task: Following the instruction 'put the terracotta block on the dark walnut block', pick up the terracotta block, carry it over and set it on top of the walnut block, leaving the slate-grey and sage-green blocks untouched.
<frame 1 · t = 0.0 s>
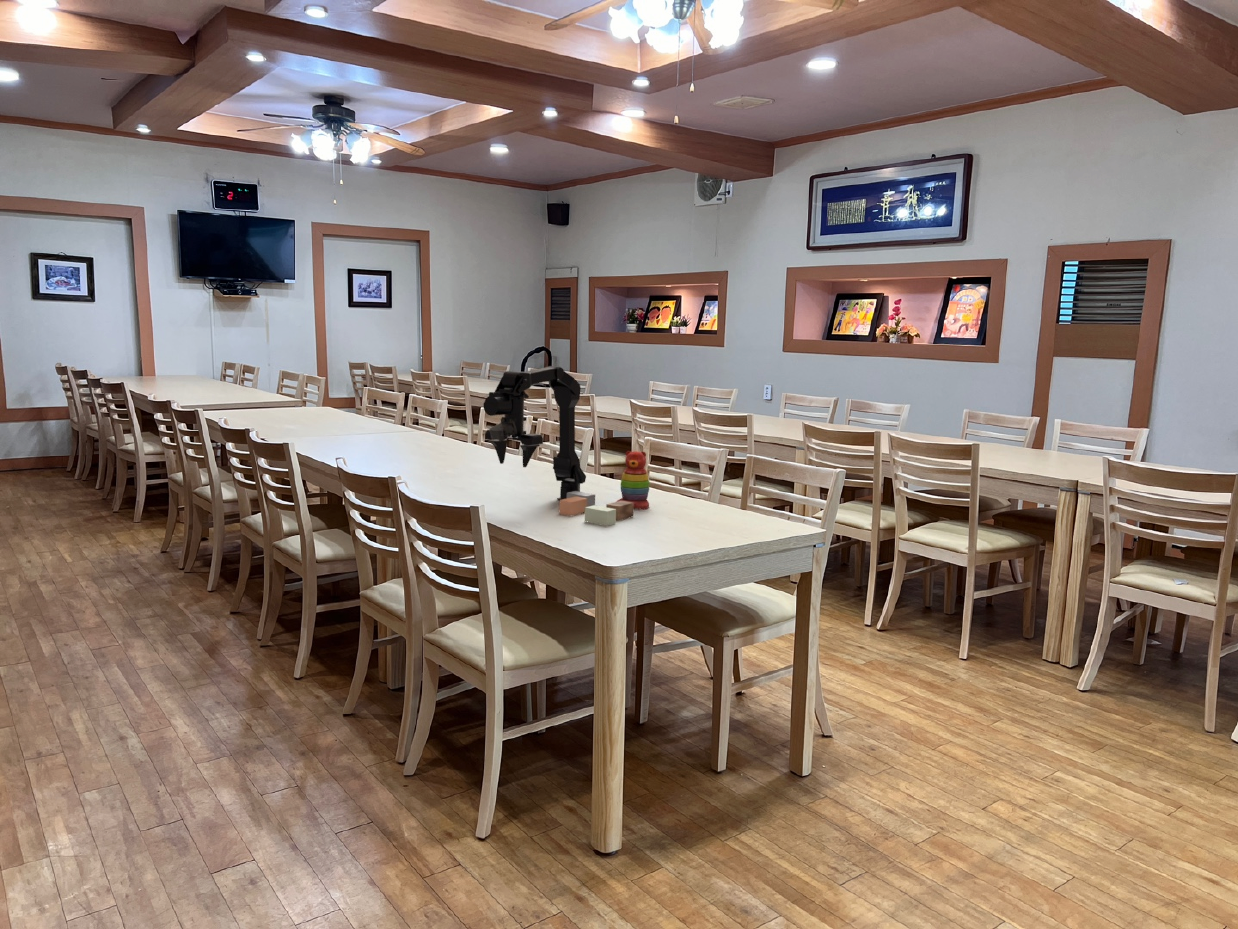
hand: (513, 465, 263), 15 cm above the table, tool pointing down, fingers open, 9 cm apart
slate block: (580, 507, 279), on the table
sage block: (600, 523, 257), on the table
walnut block: (619, 518, 265), on the table
terracotta block: (573, 513, 269), on the table
stacking bear: (633, 506, 284), on the table
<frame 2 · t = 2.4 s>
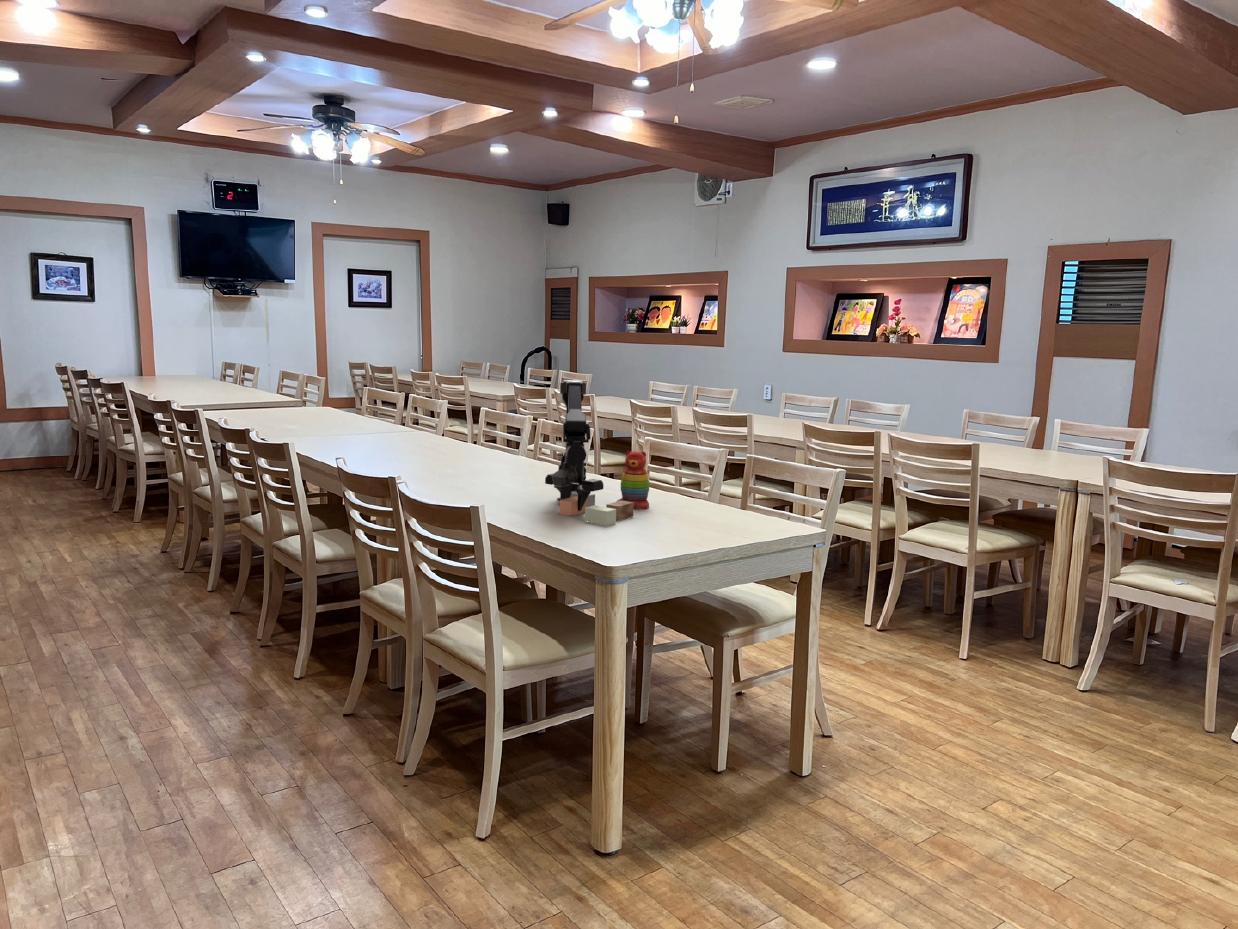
hand: (573, 509, 269), 1 cm above the table, tool pointing down, fingers closed on terracotta block, 4 cm apart
terracotta block: (573, 513, 269), on the table, touching gripper
everything else where it was.
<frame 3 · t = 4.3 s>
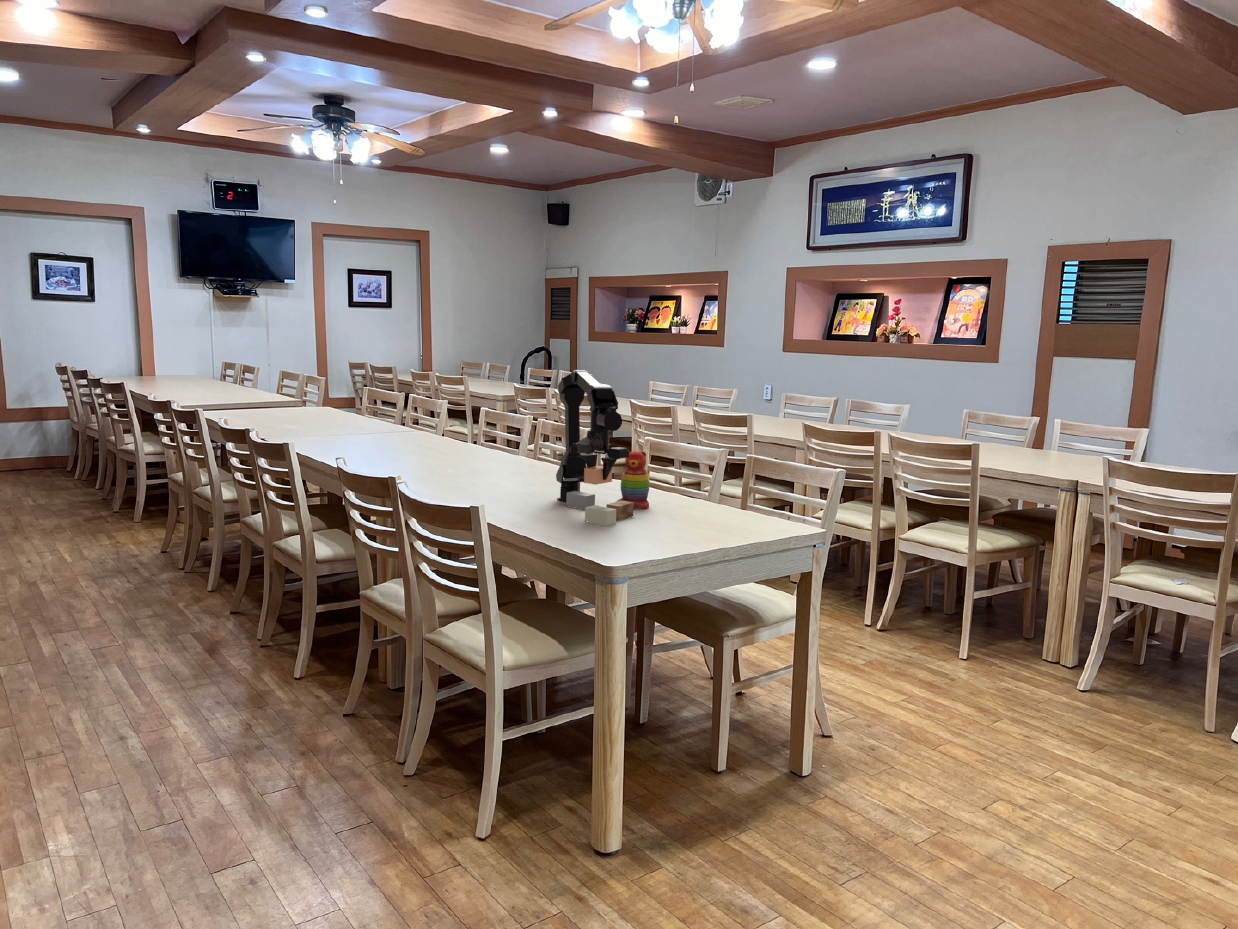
hand: (598, 478, 265), 11 cm above the table, tool pointing down, fingers closed on terracotta block, 4 cm apart
terracotta block: (598, 482, 265), point 10 cm above the table, touching gripper
everything else where it was.
when the fingers open (6 cm above the table, at t = 5.9 s): terracotta block drops 1 cm, resting on walnut block.
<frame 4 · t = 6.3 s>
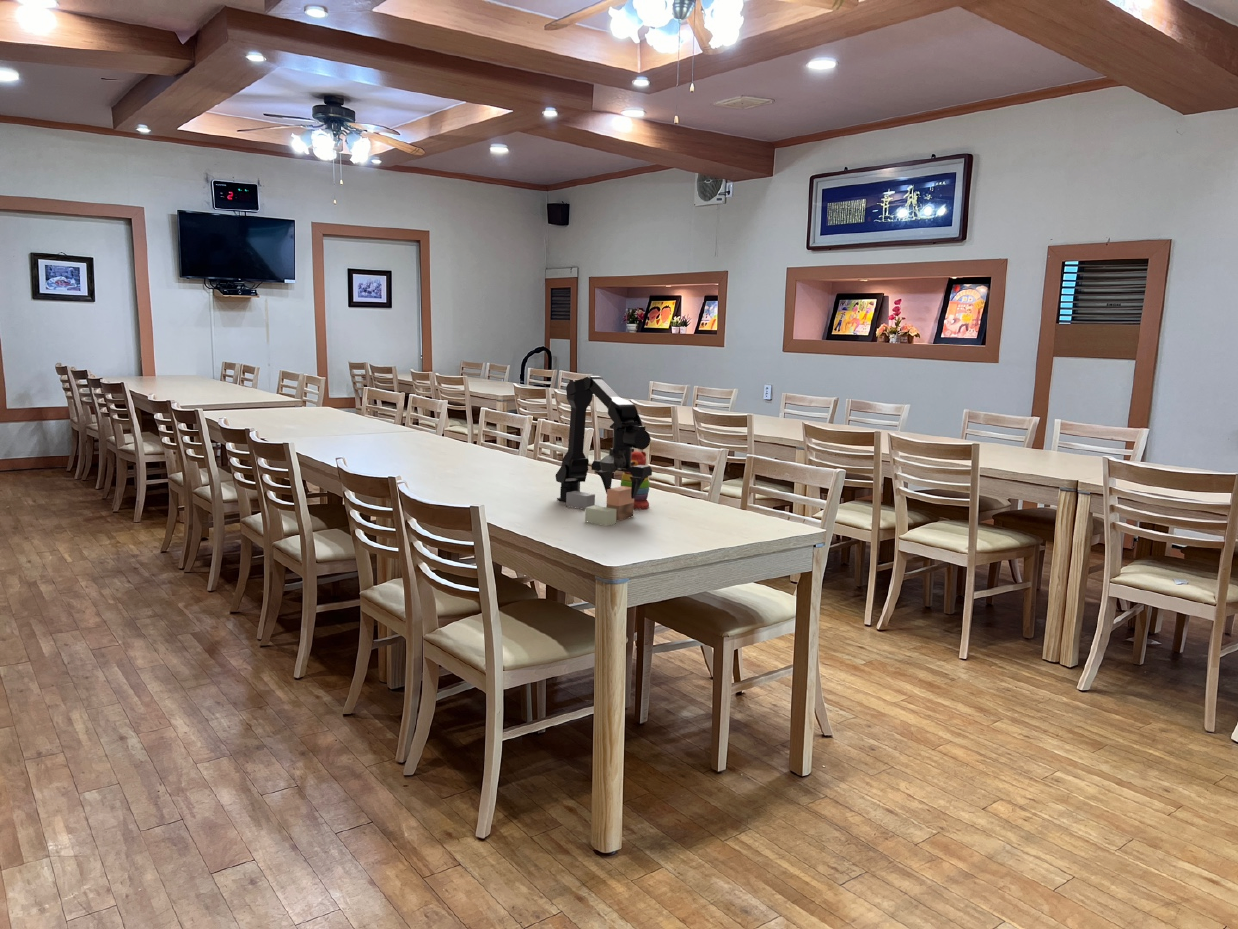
hand: (620, 496, 264), 6 cm above the table, tool pointing down, fingers open, 9 cm apart
walnut block: (619, 517, 265), on the table, touching terracotta block
terracotta block: (620, 503, 265), point 4 cm above the table, touching walnut block
everything else where it was.
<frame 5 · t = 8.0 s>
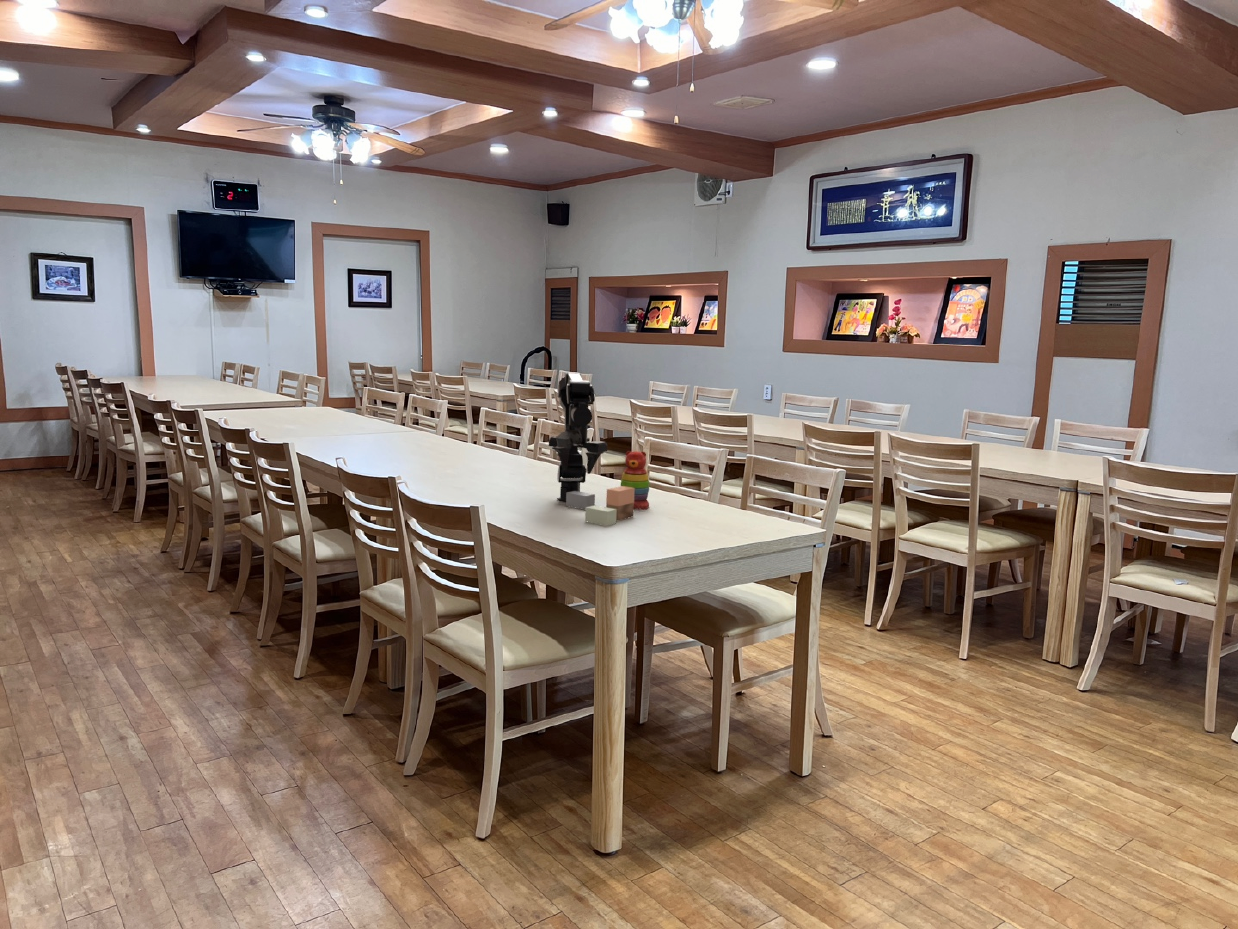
hand: (576, 471, 271), 12 cm above the table, tool pointing down, fingers open, 9 cm apart
walnut block: (619, 517, 265), on the table
terracotta block: (620, 503, 265), point 4 cm above the table
everything else where it was.
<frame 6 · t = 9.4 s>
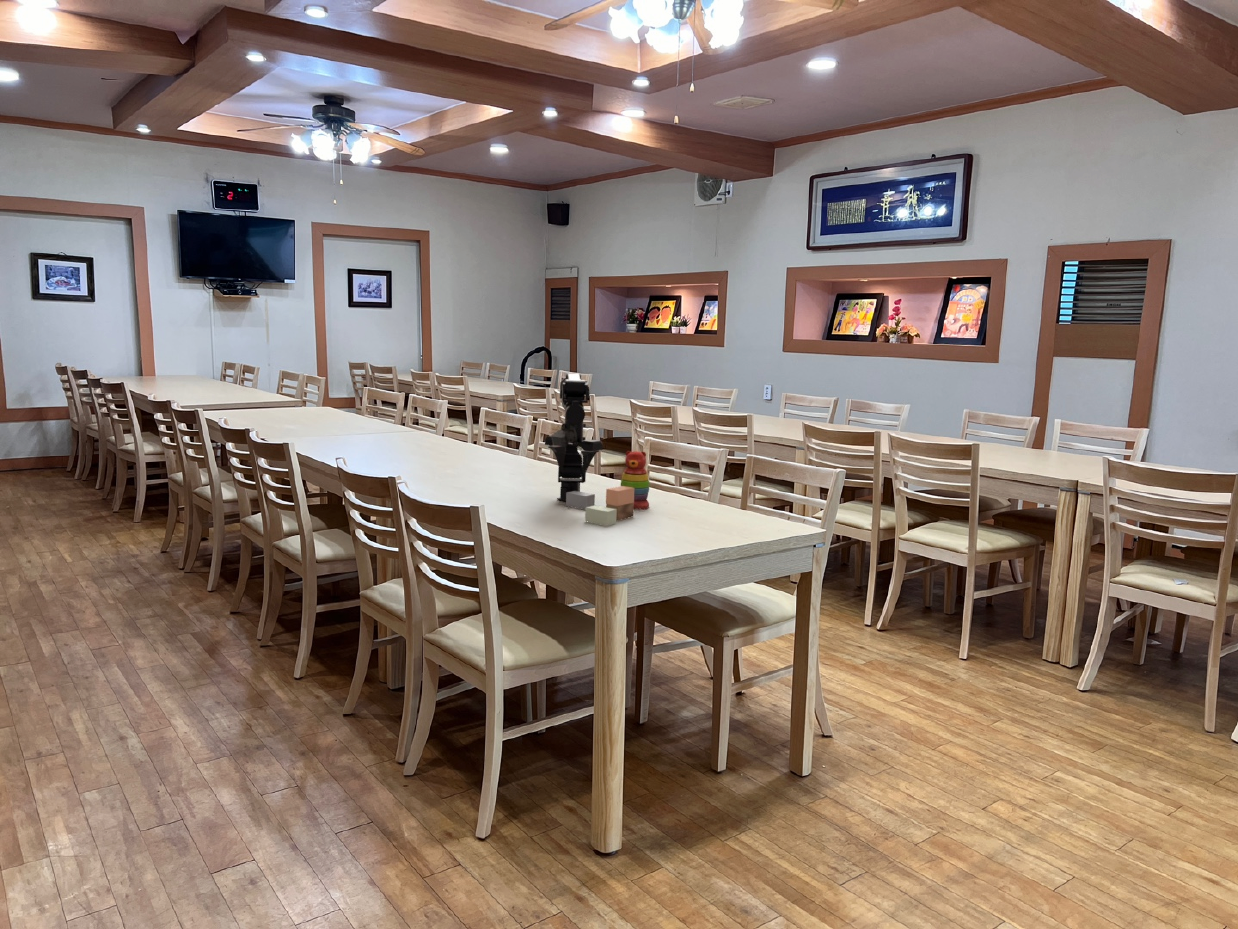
hand: (572, 470, 271), 13 cm above the table, tool pointing down, fingers open, 9 cm apart
walnut block: (619, 517, 266), on the table, touching terracotta block
terracotta block: (619, 503, 265), point 4 cm above the table, touching walnut block
everything else where it was.
at the end: terracotta block 0.1 cm off-centre on the walnut block, point 4.5 cm above the walnut block's base; slate block moved 0.3 cm from its start; sage block moved 0.3 cm from its start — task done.
